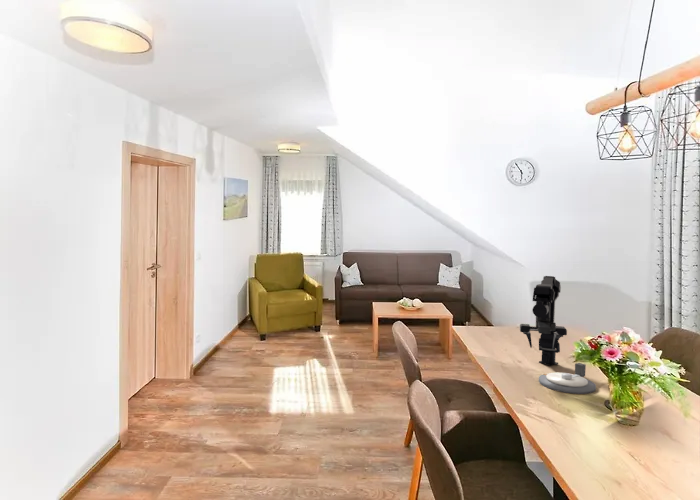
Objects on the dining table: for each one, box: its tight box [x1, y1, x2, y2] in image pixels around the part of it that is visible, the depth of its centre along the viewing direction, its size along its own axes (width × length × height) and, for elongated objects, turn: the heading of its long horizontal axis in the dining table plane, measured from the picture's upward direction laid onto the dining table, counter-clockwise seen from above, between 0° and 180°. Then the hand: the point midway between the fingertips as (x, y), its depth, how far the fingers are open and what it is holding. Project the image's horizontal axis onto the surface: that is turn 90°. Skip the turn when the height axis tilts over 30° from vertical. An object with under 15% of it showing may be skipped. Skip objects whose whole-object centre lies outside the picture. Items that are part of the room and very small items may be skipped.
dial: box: [546, 362, 589, 387], centre depth 187 cm, size 20×16×6 cm
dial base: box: [538, 372, 597, 395], centre depth 187 cm, size 22×22×2 cm
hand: (542, 348), depth 193 cm, fingers open, 9 cm apart
